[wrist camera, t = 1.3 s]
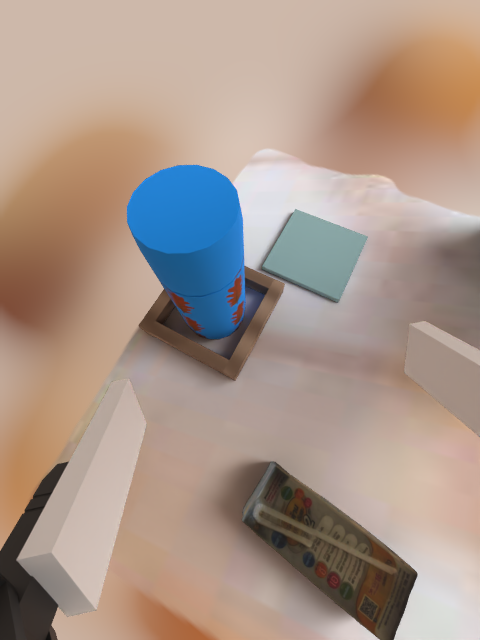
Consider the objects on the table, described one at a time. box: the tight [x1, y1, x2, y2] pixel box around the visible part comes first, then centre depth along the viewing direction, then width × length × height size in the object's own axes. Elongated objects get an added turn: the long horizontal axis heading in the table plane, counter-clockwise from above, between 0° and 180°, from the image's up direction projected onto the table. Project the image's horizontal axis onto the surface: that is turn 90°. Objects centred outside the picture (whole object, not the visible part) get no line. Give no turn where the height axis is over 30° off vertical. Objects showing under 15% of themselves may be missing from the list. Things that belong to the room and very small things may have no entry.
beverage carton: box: [242, 462, 417, 640], centre depth 33 cm, size 8×19×7 cm, turn 55°
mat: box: [262, 209, 368, 303], centre depth 51 cm, size 15×15×1 cm
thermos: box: [127, 165, 245, 339], centre depth 37 cm, size 11×11×25 cm
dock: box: [139, 266, 285, 381], centre depth 47 cm, size 18×18×3 cm
